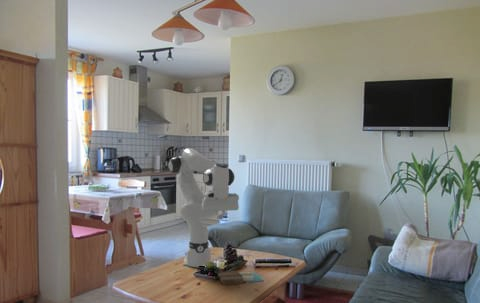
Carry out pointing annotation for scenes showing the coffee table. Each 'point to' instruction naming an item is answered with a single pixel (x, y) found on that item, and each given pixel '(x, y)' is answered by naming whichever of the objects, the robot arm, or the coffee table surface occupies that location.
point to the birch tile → (246, 276)
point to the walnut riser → (230, 278)
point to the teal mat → (255, 278)
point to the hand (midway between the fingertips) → (220, 218)
